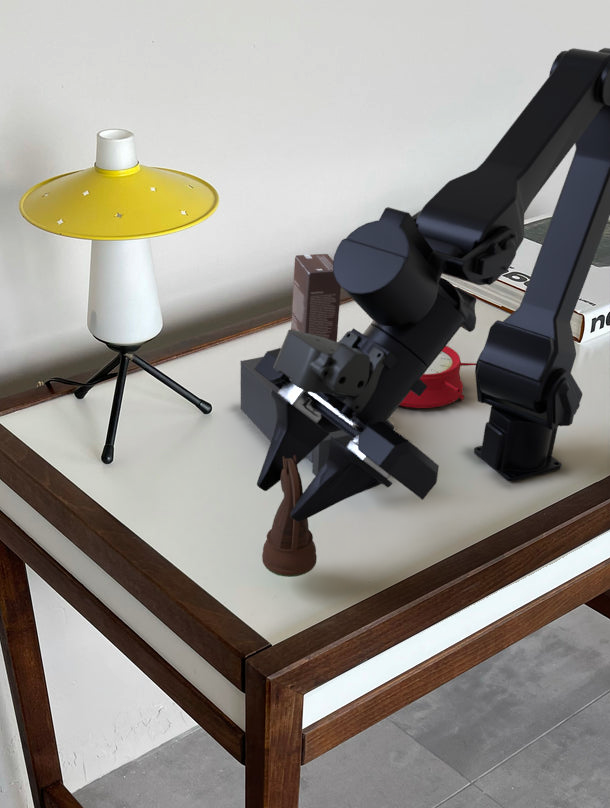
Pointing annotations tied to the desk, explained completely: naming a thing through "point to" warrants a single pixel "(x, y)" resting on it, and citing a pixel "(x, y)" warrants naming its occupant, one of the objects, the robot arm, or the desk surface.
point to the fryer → (258, 397)
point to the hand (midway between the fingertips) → (276, 503)
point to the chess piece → (289, 531)
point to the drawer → (328, 442)
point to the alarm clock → (439, 382)
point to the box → (315, 296)
